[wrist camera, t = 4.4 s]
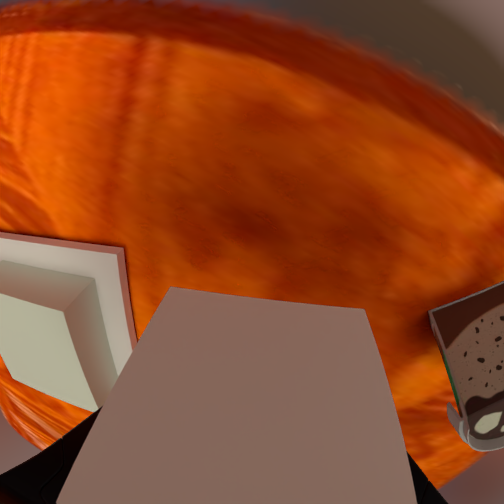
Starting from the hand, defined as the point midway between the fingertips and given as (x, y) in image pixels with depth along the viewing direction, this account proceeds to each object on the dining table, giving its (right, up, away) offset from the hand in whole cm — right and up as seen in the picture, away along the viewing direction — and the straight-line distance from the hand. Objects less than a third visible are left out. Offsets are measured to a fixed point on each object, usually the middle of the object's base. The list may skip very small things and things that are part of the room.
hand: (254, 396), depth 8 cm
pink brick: (0, 0, +1) cm, 1 cm away
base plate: (-16, -1, +14) cm, 21 cm away
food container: (+17, -1, +11) cm, 21 cm away
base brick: (-16, -2, +13) cm, 21 cm away
